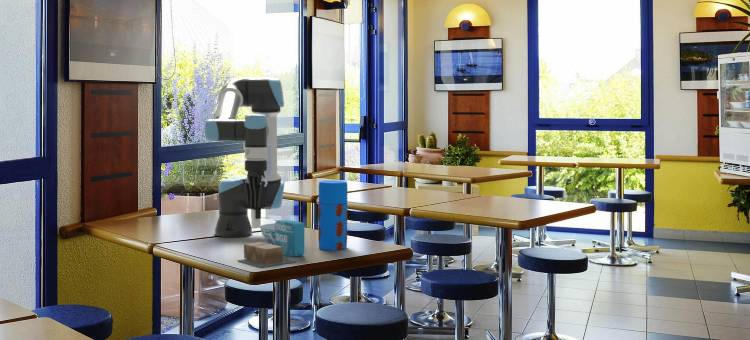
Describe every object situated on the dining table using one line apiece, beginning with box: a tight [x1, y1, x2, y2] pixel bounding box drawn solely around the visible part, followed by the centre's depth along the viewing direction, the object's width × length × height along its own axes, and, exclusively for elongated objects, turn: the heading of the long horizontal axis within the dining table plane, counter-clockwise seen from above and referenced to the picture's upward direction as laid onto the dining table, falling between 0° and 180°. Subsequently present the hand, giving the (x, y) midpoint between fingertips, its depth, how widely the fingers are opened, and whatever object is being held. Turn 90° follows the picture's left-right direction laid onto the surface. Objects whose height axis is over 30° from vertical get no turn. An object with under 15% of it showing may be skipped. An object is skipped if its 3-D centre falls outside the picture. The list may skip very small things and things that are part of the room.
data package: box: [274, 219, 306, 258], centre depth 274 cm, size 12×4×12 cm, turn 43°
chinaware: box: [260, 222, 275, 245], centre depth 291 cm, size 15×15×8 cm
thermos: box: [318, 180, 348, 252], centre depth 287 cm, size 11×11×25 cm
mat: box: [237, 257, 297, 269], centre depth 261 cm, size 14×14×1 cm
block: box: [243, 241, 284, 264], centre depth 262 cm, size 5×7×13 cm
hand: (256, 227), depth 265 cm, fingers closed
